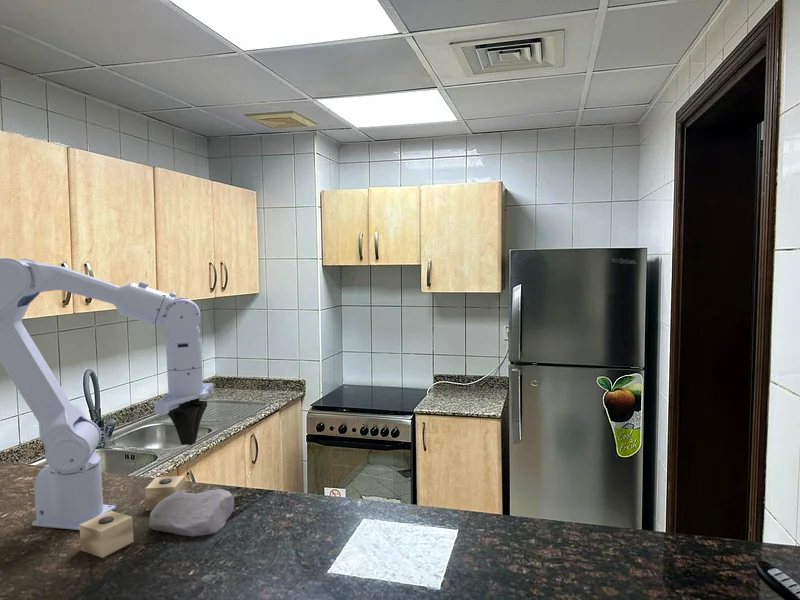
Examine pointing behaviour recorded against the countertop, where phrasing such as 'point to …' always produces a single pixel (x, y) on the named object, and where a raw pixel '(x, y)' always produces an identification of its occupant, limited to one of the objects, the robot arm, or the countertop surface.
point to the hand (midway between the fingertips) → (188, 443)
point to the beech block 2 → (163, 489)
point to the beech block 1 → (106, 533)
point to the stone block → (192, 512)
